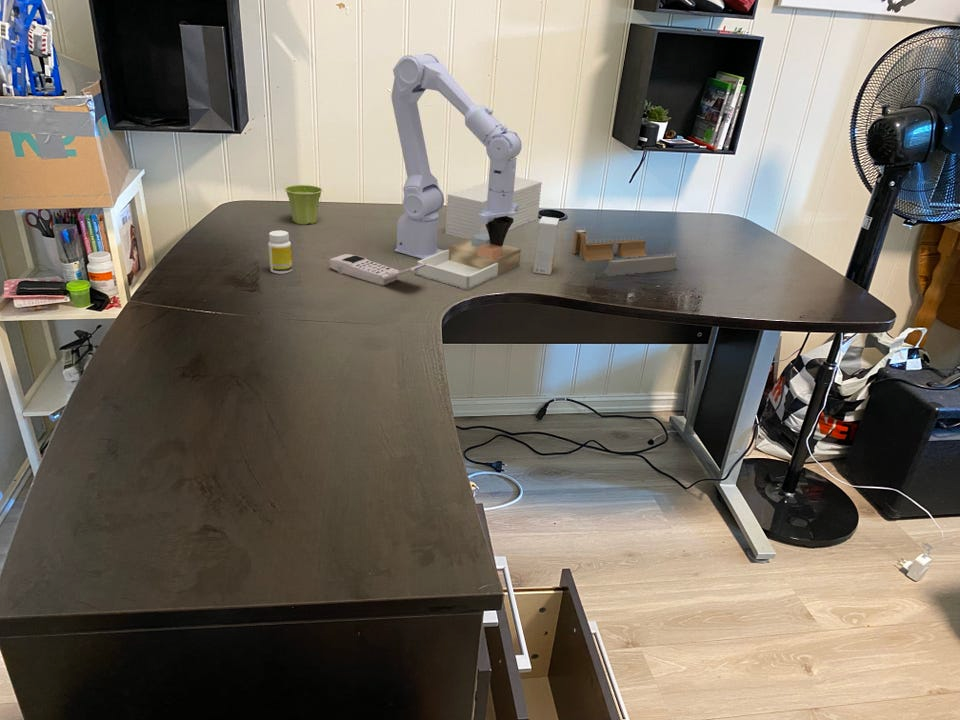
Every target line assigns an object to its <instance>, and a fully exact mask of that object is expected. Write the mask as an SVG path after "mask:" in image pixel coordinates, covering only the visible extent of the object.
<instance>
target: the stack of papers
mask: <svg viewBox="0 0 960 720" xmlns="http://www.w3.org/2000/svg"><path fill="white" fill-rule="evenodd" d="M542 182H543V181H540V180H539V181H538V180H533V179H528V178H524V177H523V178H522V177H518V176H515V183H514V194H513V203H516V204H519V210H518V212H517V213H516V215H514V216H508V217H511V218H513V219H514V220H513V223H512V225H511V226H510V228H509V230H508V231H510V229H511V230H513V229H515V228H514V227H516V226H518V227H520V226H522V225H521V224H523V225H525V224H528V223H529V221H530V222H532V221H534V219H535V220H537V219H539V209H540V201H541V192H542V184H543V183H542ZM488 183H489V181H486V182H483V183H480V184H477V185H473V186H470V187H467V188H463V189H460V190H457V191H454V192H450V193H447V196H446V197H447V198H446V201H447V202H446V214H445V215H446V219H445V223H446V224H445V235H448V234H450V236H452V235H453V237H456V236H457V238H460V237H461V239H464V238H465V240H468V239H471V238H472V237H473V236H476V235H478V234H485V235H489V234H488V231H487V228H486V226H485V225H484V224H480V223H478V214H480V213H482V212H483V211H484V209H485V208H486V207H487V196H488ZM524 223H525V224H524ZM519 225H520V226H519ZM512 228H513V229H512ZM516 228H517V227H516Z"/></svg>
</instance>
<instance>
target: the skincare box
mask: <svg viewBox="0 0 960 720" xmlns="http://www.w3.org/2000/svg"><path fill="white" fill-rule="evenodd" d="M559 223H560V218H557V217H552V216H551V217H549V216H543V215H542V217H541V218H540V219H539V222H538V226H537V234H536V236H537V237H536V242H535V243H536V244H535V253H534V259H533V260H534V261H533V268H532V269H533V270H532V272H533V274H541V275H550V276H551V275H552V271H553V268H554V262H555V255H556V248H557V239H558V233H559Z"/></svg>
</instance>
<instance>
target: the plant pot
mask: <svg viewBox="0 0 960 720" xmlns="http://www.w3.org/2000/svg"><path fill="white" fill-rule="evenodd" d="M284 192H286V195H287V197H288V202H289V206H290V211H291V216H292V222H294V223H295V224H298V225H308V224H312V225H313V224H315V223H317V220H318V213H319V203H320V197H321V193H322V192H323V188H322V187H319V186H316V185H310V184H295V185H289V186H286V187H285V188H284Z"/></svg>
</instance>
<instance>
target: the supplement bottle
mask: <svg viewBox="0 0 960 720" xmlns="http://www.w3.org/2000/svg"><path fill="white" fill-rule="evenodd" d="M268 235H269V237H268V238H269V241H268V242H267V248H268V261H269V263H268V264H269V269H270V270H269V271H270V272H272V273H274V274H278V275H279V274H280V275H284V274H289V273H291V272H292V271H293V258H292V256H293V255H292V242H291V241H290V235H289V232H288V231H285V230H281V229H280V230H272V231H270V232H269V233H268Z"/></svg>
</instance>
